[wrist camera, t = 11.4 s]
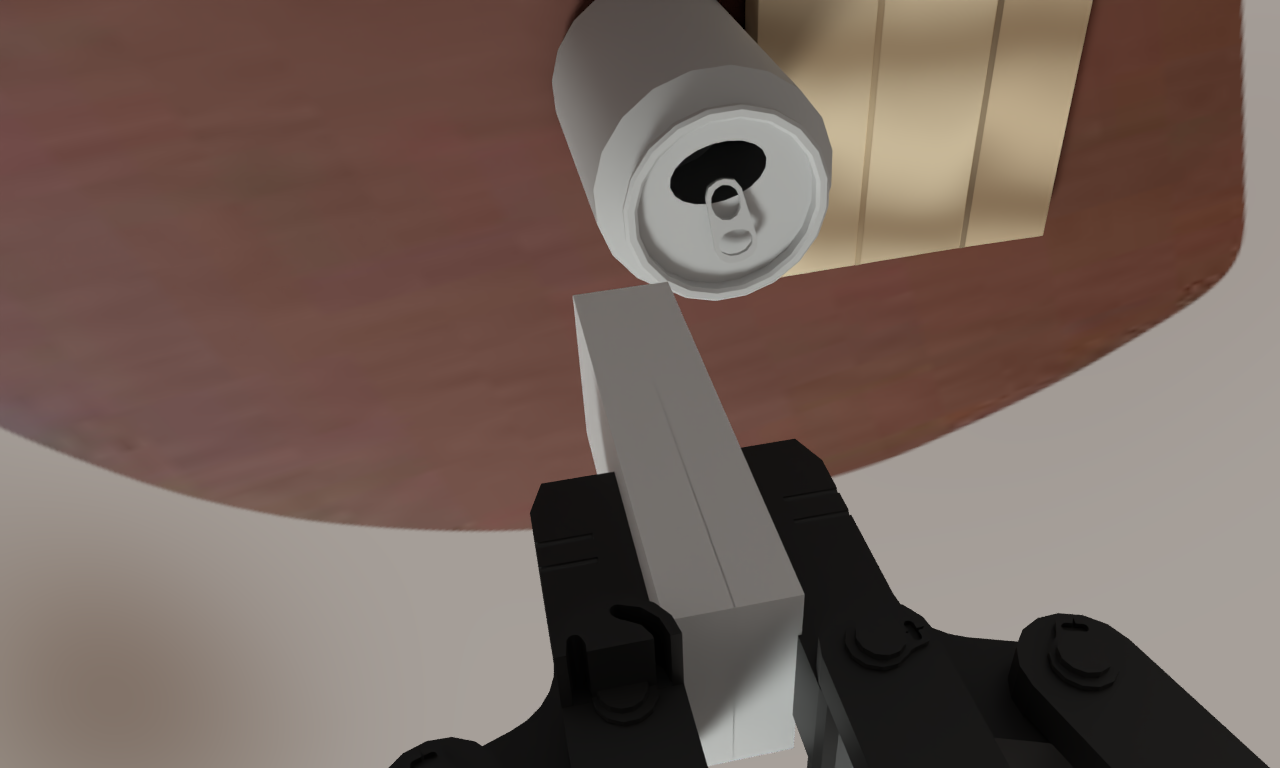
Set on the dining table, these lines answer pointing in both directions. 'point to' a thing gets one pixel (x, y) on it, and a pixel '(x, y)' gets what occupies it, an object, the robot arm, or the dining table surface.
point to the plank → (885, 115)
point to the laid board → (1023, 117)
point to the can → (691, 145)
